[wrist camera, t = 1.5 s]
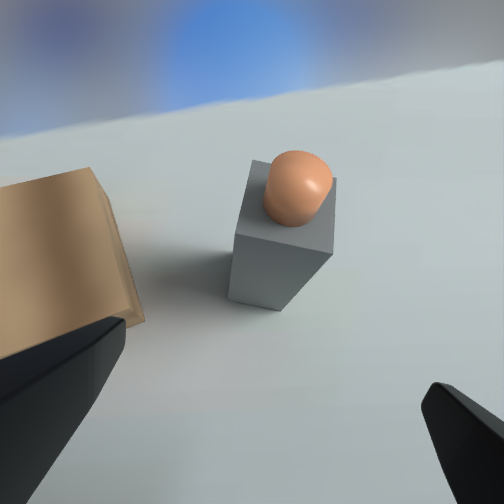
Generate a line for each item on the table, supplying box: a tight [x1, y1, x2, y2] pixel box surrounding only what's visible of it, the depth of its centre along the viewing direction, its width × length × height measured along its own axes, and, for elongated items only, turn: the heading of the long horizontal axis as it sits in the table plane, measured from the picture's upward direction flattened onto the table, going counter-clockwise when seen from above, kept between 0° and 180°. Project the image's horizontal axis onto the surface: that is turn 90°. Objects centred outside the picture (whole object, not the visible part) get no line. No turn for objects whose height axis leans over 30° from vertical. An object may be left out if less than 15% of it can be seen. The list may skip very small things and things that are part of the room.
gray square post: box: [228, 151, 337, 311], centre depth 17 cm, size 4×4×13 cm
